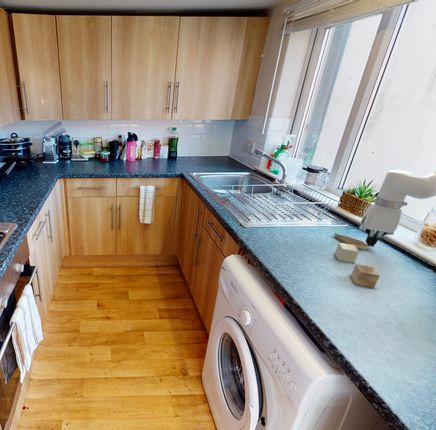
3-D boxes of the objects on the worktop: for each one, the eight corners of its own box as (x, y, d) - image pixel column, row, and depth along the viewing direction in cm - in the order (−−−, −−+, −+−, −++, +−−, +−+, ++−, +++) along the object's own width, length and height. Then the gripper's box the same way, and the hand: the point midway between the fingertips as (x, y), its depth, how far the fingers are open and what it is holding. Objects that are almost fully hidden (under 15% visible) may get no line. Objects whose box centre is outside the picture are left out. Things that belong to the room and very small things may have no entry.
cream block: (349, 256, 110) (354, 245, 108) (353, 263, 106) (359, 251, 104) (334, 253, 112) (338, 242, 110) (337, 260, 108) (342, 248, 105)
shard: (333, 236, 125) (334, 232, 124) (350, 236, 125) (352, 233, 124) (351, 249, 115) (352, 245, 114) (370, 249, 115) (372, 245, 114)
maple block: (368, 279, 97) (374, 267, 95) (373, 288, 93) (380, 275, 91) (350, 275, 99) (355, 263, 97) (355, 284, 94) (360, 271, 92)
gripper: (408, 202, 109) (388, 244, 117) (361, 196, 114) (344, 236, 122) (418, 209, 103) (396, 253, 110) (367, 203, 108) (350, 245, 116)
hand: (369, 244), depth 116 cm, fingers closed
